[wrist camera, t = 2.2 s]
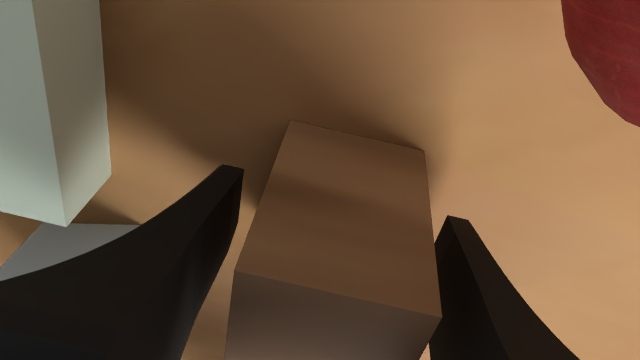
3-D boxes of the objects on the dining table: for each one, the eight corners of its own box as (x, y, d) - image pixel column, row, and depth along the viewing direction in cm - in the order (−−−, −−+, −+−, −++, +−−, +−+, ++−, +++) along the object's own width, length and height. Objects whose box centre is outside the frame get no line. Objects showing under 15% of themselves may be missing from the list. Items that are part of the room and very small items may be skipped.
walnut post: (387, 247, 16) (385, 421, 11) (273, 221, 16) (221, 384, 11) (424, 150, 14) (442, 317, 9) (290, 119, 14) (234, 270, 9)
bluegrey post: (171, 299, 19) (96, 453, 14) (81, 295, 20) (-20, 441, 15) (143, 224, 17) (42, 376, 12) (42, 222, 17) (-93, 366, 13)
